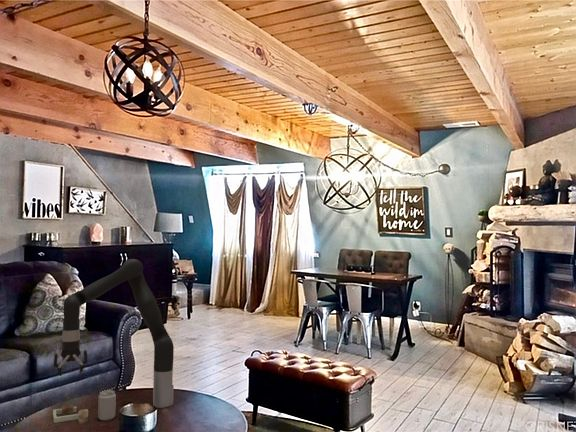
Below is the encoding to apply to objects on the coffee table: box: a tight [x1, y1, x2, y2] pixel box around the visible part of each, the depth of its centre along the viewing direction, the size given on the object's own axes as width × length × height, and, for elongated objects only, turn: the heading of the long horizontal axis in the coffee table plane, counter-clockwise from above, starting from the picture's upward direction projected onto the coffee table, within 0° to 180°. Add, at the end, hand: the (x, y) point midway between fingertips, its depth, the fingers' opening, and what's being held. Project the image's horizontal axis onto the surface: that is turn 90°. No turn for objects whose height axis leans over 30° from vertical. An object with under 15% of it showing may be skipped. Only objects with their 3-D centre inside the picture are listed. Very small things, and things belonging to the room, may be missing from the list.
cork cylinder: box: [77, 408, 89, 425], centre depth 218 cm, size 4×4×5 cm
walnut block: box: [61, 404, 74, 416], centre depth 224 cm, size 4×4×4 cm
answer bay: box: [52, 406, 79, 424], centre depth 224 cm, size 10×11×2 cm
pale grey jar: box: [97, 389, 117, 422], centre depth 223 cm, size 8×8×12 cm
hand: (70, 374), depth 225 cm, fingers open, 8 cm apart
